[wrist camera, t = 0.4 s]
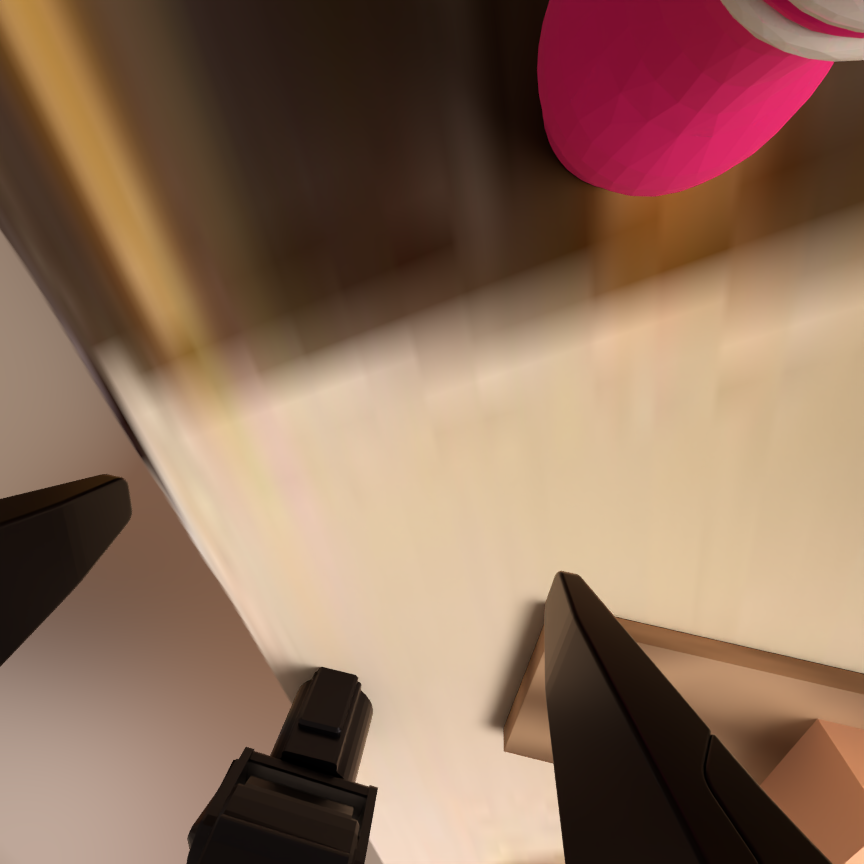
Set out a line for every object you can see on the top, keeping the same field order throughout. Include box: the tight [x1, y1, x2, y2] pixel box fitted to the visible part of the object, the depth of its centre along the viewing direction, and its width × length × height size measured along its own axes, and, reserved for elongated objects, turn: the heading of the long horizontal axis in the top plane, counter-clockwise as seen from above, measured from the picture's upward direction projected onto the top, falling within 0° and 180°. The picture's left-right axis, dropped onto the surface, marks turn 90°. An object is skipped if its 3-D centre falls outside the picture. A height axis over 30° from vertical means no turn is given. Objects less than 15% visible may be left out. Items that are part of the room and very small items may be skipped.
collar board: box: [504, 617, 864, 786], centre depth 25 cm, size 12×26×6 cm, turn 80°
